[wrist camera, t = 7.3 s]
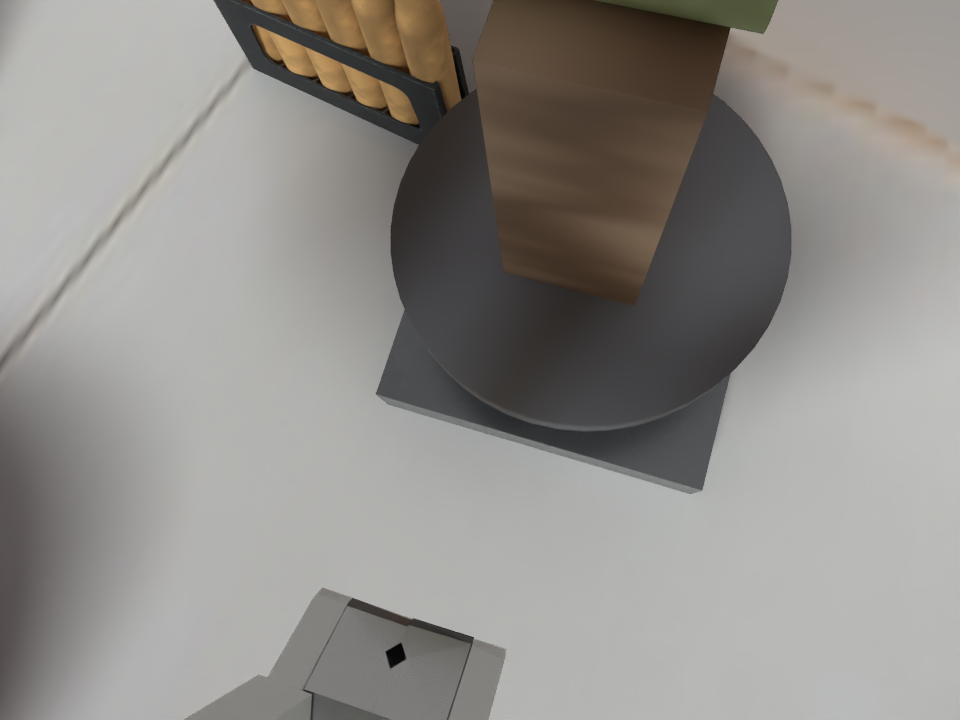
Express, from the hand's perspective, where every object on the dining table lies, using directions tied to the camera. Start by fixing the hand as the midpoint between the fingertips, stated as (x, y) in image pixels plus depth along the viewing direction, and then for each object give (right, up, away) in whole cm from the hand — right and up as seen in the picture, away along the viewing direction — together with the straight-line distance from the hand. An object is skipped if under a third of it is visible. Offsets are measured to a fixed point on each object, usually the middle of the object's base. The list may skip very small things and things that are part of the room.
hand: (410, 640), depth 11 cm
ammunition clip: (-4, +16, +21) cm, 27 cm away
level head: (+4, +8, +12) cm, 15 cm away
